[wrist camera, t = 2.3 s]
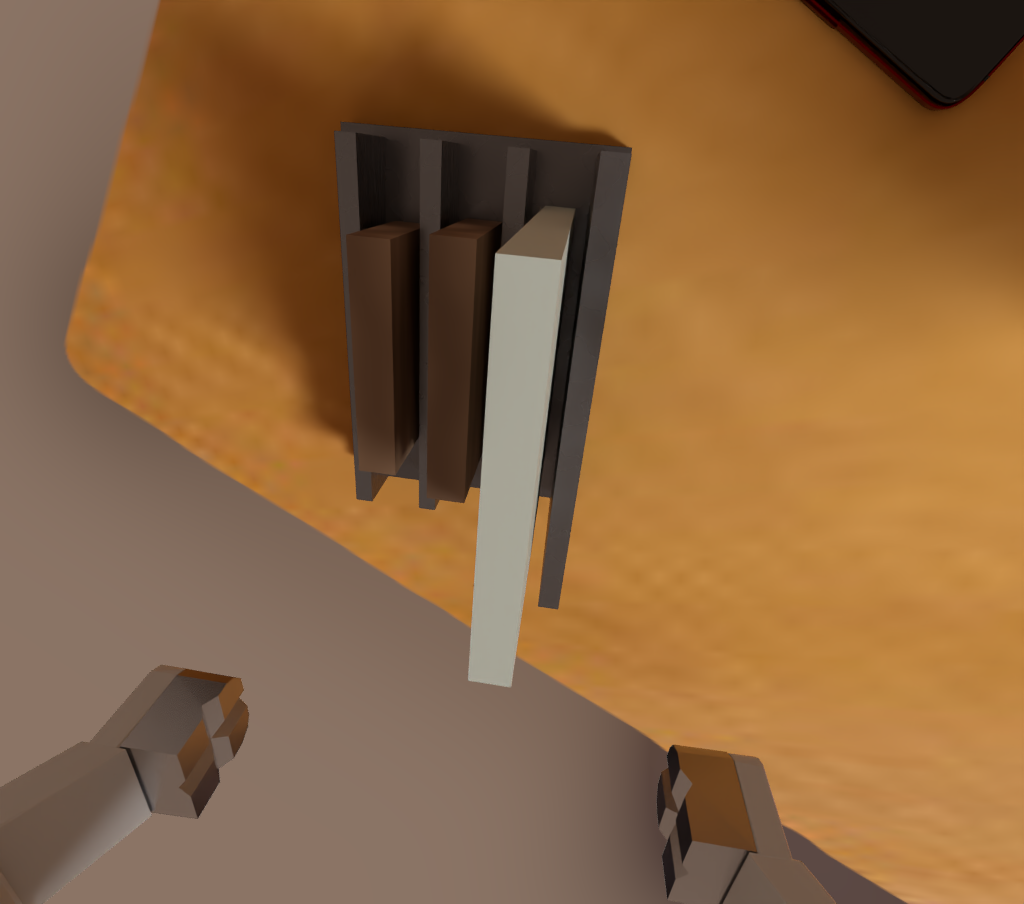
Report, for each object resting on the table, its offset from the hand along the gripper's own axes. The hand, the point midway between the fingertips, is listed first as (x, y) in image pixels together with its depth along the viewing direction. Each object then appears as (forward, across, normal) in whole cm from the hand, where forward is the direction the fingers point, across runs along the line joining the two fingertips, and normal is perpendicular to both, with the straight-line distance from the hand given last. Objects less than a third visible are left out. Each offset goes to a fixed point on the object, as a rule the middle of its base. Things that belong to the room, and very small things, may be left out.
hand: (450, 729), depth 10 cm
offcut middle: (+25, +4, 0) cm, 25 cm away
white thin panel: (+25, 0, 0) cm, 25 cm away
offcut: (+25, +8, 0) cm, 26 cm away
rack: (+27, +4, 0) cm, 27 cm away
